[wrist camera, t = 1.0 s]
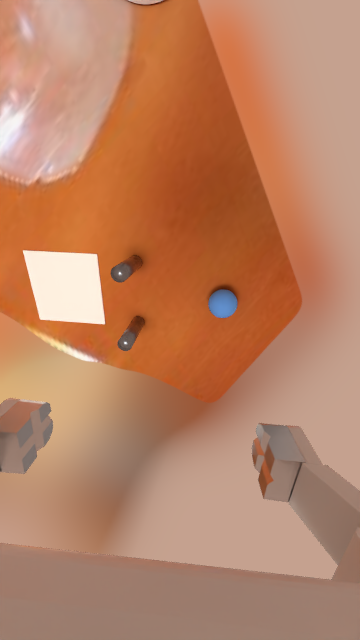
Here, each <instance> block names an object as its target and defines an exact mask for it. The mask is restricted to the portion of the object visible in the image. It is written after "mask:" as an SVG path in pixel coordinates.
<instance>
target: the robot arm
mask: <svg viewBox="0 0 360 640" xmlns="http://www.w3.org/2000/svg"><path fill="white" fill-rule="evenodd" d="M128 1H131V2H133V3H137V4H154V3H157V2H160V1H163V0H128ZM50 412H51V407H50V404H49V403H47V402H39V401H31V400H20V399H13V398H9V399H6V400H5V401H3V402H2V403H1V404H0V472H6V473H21V474H25V473H26V471H27V470H28V469H29V467H30V466H31V464H32V463H33V462H34V460H35V459H36V457H37V451H38V450H39V449H41V448H42V447H44V446H45V445H46V443H47V442H48V440H49V439H50V436H51V433H52V429H53V421H52V419H50V417H49V416H48V414H49V413H50ZM256 434H257V436H258V437H257V438H256V439H255V440H254V441H253V446H252V457H253V462H254V466H255V469H256V470H257V471H258V472H259V473H260V474H259V478H258V481H259V484H260V488H261V492H262V495H263V498H264V499H268V500H276V501H282V502H289V505H290V506H291V507H292V509H293V510H294V511H295V512H296V514H297V515H298V516H299V517H300V519H301V520H302V521H303V522H304V524H305V525H306V526H307V527H308V528H309V530H310V531H311V532H312V534H313V535H314V536H315V537H316V538H317V540H318V541H319V542H320V544H321V545H322V546H323V547H324V549H325V550H326V551H327V552H328V553H329V555H330V556H331V557H332V559H333V560H334V561H335V562H336V563H337V565H338V567H337V569H336V571H335V573H334V575H333V577H332V579H331V580H329V579H319V578H311V577H302V576H293V575H284V574H275V573H265V572H257V571H248V570H240V569H231V568H221V567H213V566H203V565H195V564H186V563H177V562H167V561H159V560H149V559H141V558H132V557H123V556H114V555H105V554H95V553H86V552H78V551H69V550H60V549H50V548H42V547H32V546H23V545H14V544H5V543H0V640H360V491H359V490H358V489H357V488H356V487H354V486H353V485H352V484H350V483H349V482H348V481H347V480H345V479H344V478H343V477H341V476H340V475H339V474H338V473H336V472H335V471H334V470H333V469H331V468H330V467H329V466H328V465H323V464H322V462H321V461H320V459H319V458H318V456H317V454H316V452H315V451H314V449H313V447H312V445H311V444H310V442H309V440H308V439H307V437H306V435H305V434H304V432H303V430H302V429H301V428H300V427H299V426H287V425H286V426H284V425H273V424H262V423H259V424H258V425H257V428H256Z"/></svg>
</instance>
